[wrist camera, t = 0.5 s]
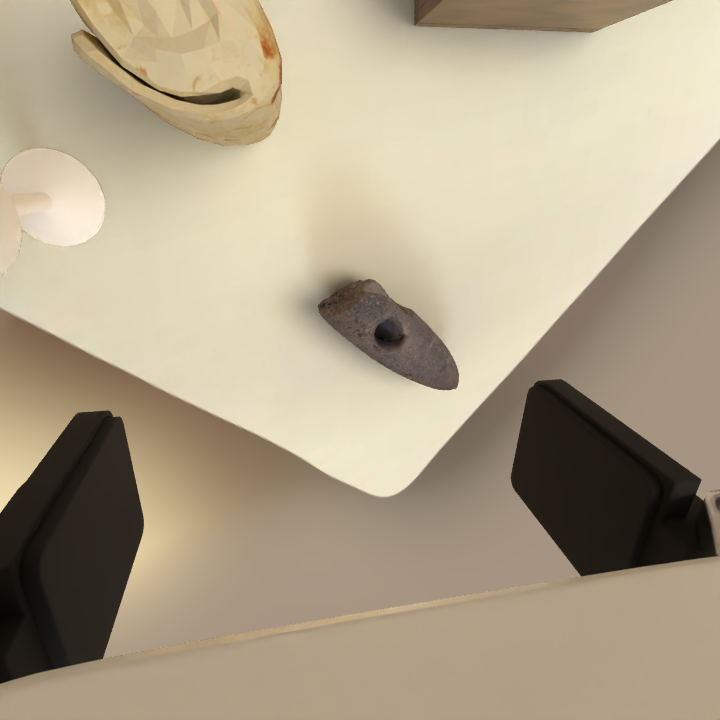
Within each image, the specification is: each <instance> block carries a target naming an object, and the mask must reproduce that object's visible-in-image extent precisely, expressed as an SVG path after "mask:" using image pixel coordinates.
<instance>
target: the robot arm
mask: <svg viewBox="0 0 720 720" xmlns="http://www.w3.org/2000/svg"><path fill="white" fill-rule="evenodd" d="M511 482H512V486H513V488H514V490H515V491H516V493H517V494H518V495H519V496H520V498H521V499H522V500H523V501H524V503H525V504H526V505H527V507H528V508H529V509H530V511H531V512H532V513H533V515H534V516H535V517H536V518H537V520H538V521H539V522H540V524H541V525H542V526H543V527H544V529H545V530H546V531H547V533H548V534H549V535H550V537H551V538H552V539H553V540H554V542H555V543H556V544H557V545H558V547H559V548H560V549H561V551H562V552H563V553H564V555H565V556H566V557H567V559H568V560H569V561H570V562H571V564H572V565H573V566H574V567H575V569H576V570H577V571H578V573H579V574H580V575H581V577H575V578H569V579H563V580H557V581H550V582H544V583H538V584H532V585H525V586H519V587H514V588H507V589H501V590H495V591H489V592H483V593H477V594H470V595H464V596H458V597H452V598H447V599H440V600H435V601H429V602H422V603H416V604H411V605H405V606H399V607H392V608H386V609H380V610H374V611H369V612H362V613H357V614H351V615H345V616H339V617H333V618H328V619H322V620H316V621H310V622H304V623H298V624H293V625H287V626H281V627H275V628H270V629H264V630H258V631H252V632H247V633H241V634H235V635H229V636H224V637H217V638H211V639H206V640H200V641H195V642H190V643H184V644H179V645H174V646H168V647H163V648H157V649H152V650H147V651H141V652H136V653H131V654H126V655H120V656H115V657H110V658H105V659H103V657H104V653H105V650H106V647H107V644H108V641H109V638H110V634H111V632H112V628H113V625H114V622H115V619H116V615H117V613H118V609H119V606H120V603H121V600H122V597H123V594H124V590H125V588H126V585H127V581H128V578H129V575H130V572H131V569H132V565H133V563H134V560H135V556H136V553H137V550H138V547H139V544H140V541H141V537H142V534H143V528H144V519H143V513H142V508H141V503H140V499H139V494H138V490H137V485H136V480H135V475H134V471H133V466H132V461H131V456H130V452H129V447H128V442H127V438H126V433H125V428H124V424H123V421H122V418H121V417H113V415H112V413H111V412H110V411H95V412H81V413H77V414H76V415H75V416H74V417H73V419H72V420H71V421H70V423H69V424H68V425H67V427H66V428H65V430H64V431H63V432H62V434H61V435H60V436H59V438H58V439H57V440H56V442H55V443H54V445H53V446H52V447H51V449H50V450H49V451H48V453H47V454H46V456H45V457H44V458H43V459H42V461H41V462H40V463H39V465H38V466H37V468H36V469H35V470H34V472H33V473H32V474H31V476H30V477H29V478H28V480H27V481H26V482H25V483H24V484H23V485H22V486H21V487H20V488H19V489H18V490H17V491H16V493H15V494H14V495H13V497H12V498H11V500H10V501H9V502H8V504H7V505H6V506H5V508H4V509H3V510H2V512H1V513H0V720H720V489H719V490H714V491H711V492H709V493H708V494H707V495H706V496H705V498H704V501H703V500H702V499H700V498H699V497H698V496H696V492H697V490H698V487H699V485H700V483H701V479H700V478H698V477H697V476H696V475H694V474H693V473H691V472H690V471H689V470H687V469H686V468H685V467H683V466H682V465H680V464H679V463H678V462H676V461H675V460H673V459H672V458H671V457H669V456H668V455H667V454H665V453H664V452H662V451H661V450H660V449H658V448H657V447H655V446H654V445H653V444H651V443H650V442H648V441H647V440H646V439H644V438H643V437H641V436H640V435H639V434H637V433H636V432H635V431H633V430H632V429H630V428H629V427H628V426H626V425H625V424H624V423H622V422H621V421H619V420H618V419H616V418H615V417H614V416H612V415H611V414H610V413H608V412H607V411H605V410H604V409H603V408H601V407H600V406H599V405H597V404H596V403H594V402H593V401H592V400H590V399H589V398H587V397H586V396H585V395H583V394H582V393H580V392H579V391H578V390H576V389H575V388H573V387H572V386H571V385H569V384H568V383H567V382H565V381H563V380H561V379H559V380H544V381H538V382H536V383H535V385H534V386H533V387H531V388H530V389H529V391H528V394H527V398H526V403H525V409H524V413H523V419H522V423H521V428H520V433H519V438H518V443H517V448H516V453H515V459H514V463H513V468H512V473H511Z"/></svg>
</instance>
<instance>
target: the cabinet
mask: <svg viewBox="0 0 720 720" xmlns="http://www.w3.org/2000/svg"><path fill="white" fill-rule="evenodd" d="M670 1H672V0H415V18H414V26H428V27H458V28H487V29H517V30H546V31H576V32H594V31H597V30H599V29H602V28H604V27H607V26H609V25H612V24H614V23H617V22H619V21H622V20H624V19H627V18H630V17H632V16H635V15H637V14H640V13H642V12H645V11H647V10H650V9H652V8H655V7H657V6H660V5H662V4H665V3H667V2H670Z"/></svg>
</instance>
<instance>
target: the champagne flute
mask: <svg viewBox="0 0 720 720" xmlns="http://www.w3.org/2000/svg"><path fill="white" fill-rule="evenodd" d="M104 216H105V200H104V195H103V192H102V190H101V187H100V185H99V183H98V182H97V180H96V178H95V177H94V176H93V174H92V173H91V172H90V171H89V170H88V169H87V168H86V167H85V166H84V165H83V164H82V163H81V162H79V161H78V160H76V159H75V158H73V157H71V156H70V155H68V154H65V153H63V152H60V151H57V150H53V149H49V148H35V149H28V150H26V151H23V152H21V153H18V154H17V155H16V156H14V157H13V158H12V159H11V160H10V161H9V162H8V163H7V165H6V166H5V168H4V170H3V173H2V176H1V182H0V277H2V276H3V275H4V274H5V273H6V272H7V271H8V269H9V268H10V267H11V266H12V265H13V264H14V262H15V260H16V258H17V256H18V254H19V251H20V246H21V241H22V234H21V229H22V230H24V231H25V232H26V233H28V234H29V235H30V236H32V237H34V238H36V239H38V240H40V241H42V242H45V243H48V244H52V245H57V246H72V245H77V244H80V243H83V242H85V241H87V240H89V239H90V238H92V237H93V236H94V235H95V234H96V233H97V232H98V230H99V229H100V227H101V225H102V223H103V220H104Z"/></svg>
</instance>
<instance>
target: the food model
mask: <svg viewBox="0 0 720 720" xmlns="http://www.w3.org/2000/svg"><path fill="white" fill-rule="evenodd" d="M70 1H71V3H72V5H73V6H74V8H75V10H76V12H77V13H78V15H79V16H80V18H81V19H82V21H83V22H84V24H85V25H86V26H87V27H88V28H89V29H90V30H91V31H92V33H93V34H94V35H95V36H96V37H97V38H98V39H97V38H96V37H95V36H93V35H91V34H89V33H88V32H86V31H84V30H80V31H78V32H76V33H74V34H72V35H71V38H72V44H73V49H74V51H75V52H76V53H77V54H78V55H79V56H80V58H81V59H82V60H83V61H84V62H86V63H87V64H88V65H90V66H91V67H93V68H94V69H95V70H97V71H98V72H99V73H101V74H102V75H103V76H105V77H106V78H108V79H109V80H111V81H112V82H114V83H115V84H116V85H118V86H119V87H121V88H122V89H124V90H125V91H126V92H128V93H129V94H131V95H132V96H134V97H135V98H137V99H138V100H140V101H141V102H142V103H143V104H144V105H146V106H147V107H148V108H149V109H150V110H152V111H153V112H154V113H156V114H157V115H158V116H160V117H161V118H162V119H164V120H165V121H166V122H168V123H169V124H171V125H173V126H175V127H177V128H179V129H181V130H183V131H185V132H187V133H189V134H191V135H193V136H195V137H197V138H198V139H201V140H205V141H208V142H212V143H215V144H219V145H222V146H225V145H247V144H252V143H255V142H259V141H261V140H263V139H265V138H266V137H268V136H269V135H270V134H271V132H272V131H273V129H274V127H275V125H276V122H277V120H278V118H279V113H280V107H281V100H282V90H281V84H282V62H281V55H280V52H279V49H278V46H277V43H276V39H275V36H274V33H273V30H272V27H271V25H270V23H269V21H268V19H267V17H266V15H265V13H264V11H263V9H262V7H261V5H260V2H259V0H70Z"/></svg>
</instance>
